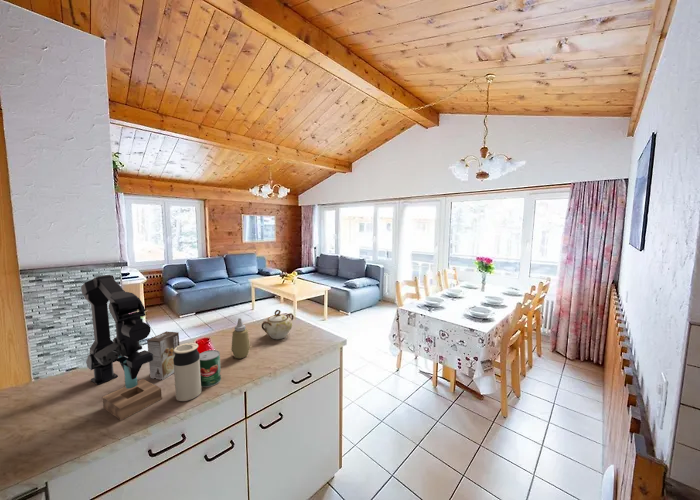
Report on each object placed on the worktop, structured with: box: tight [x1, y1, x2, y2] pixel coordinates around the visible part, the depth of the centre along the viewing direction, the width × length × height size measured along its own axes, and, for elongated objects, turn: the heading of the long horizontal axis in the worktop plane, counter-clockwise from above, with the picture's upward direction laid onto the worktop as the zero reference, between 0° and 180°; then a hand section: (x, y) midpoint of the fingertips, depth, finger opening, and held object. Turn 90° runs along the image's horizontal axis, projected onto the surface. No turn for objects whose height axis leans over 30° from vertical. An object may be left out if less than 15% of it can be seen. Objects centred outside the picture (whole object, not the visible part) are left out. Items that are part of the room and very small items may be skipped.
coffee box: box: [146, 331, 180, 381], centre depth 112 cm, size 9×6×16 cm
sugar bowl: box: [261, 309, 295, 340], centre depth 149 cm, size 20×15×15 cm
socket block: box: [101, 378, 163, 421], centre depth 94 cm, size 12×12×4 cm
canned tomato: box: [199, 349, 222, 388], centre depth 107 cm, size 8×8×11 cm
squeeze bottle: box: [230, 317, 251, 359], centre depth 127 cm, size 8×8×18 cm
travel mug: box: [173, 342, 202, 402], centre depth 98 cm, size 8×8×18 cm
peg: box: [123, 360, 138, 389], centre depth 93 cm, size 3×3×9 cm
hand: (131, 377), depth 94 cm, fingers closed on peg, 3 cm apart
